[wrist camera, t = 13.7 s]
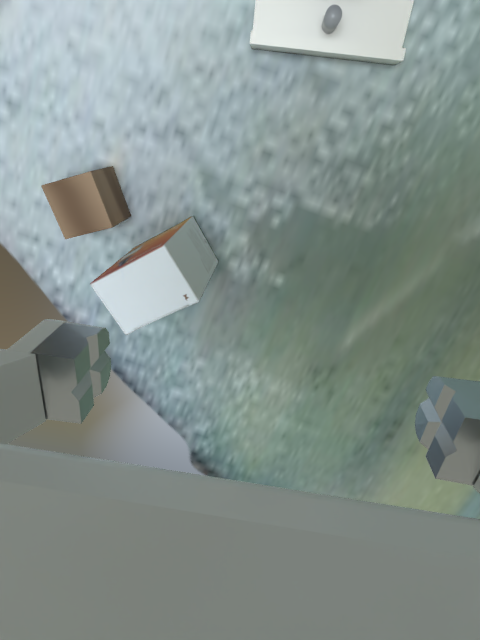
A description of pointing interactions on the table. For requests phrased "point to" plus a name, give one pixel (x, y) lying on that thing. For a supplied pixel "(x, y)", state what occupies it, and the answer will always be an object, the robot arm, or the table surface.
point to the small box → (157, 277)
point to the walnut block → (87, 202)
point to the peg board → (333, 28)
